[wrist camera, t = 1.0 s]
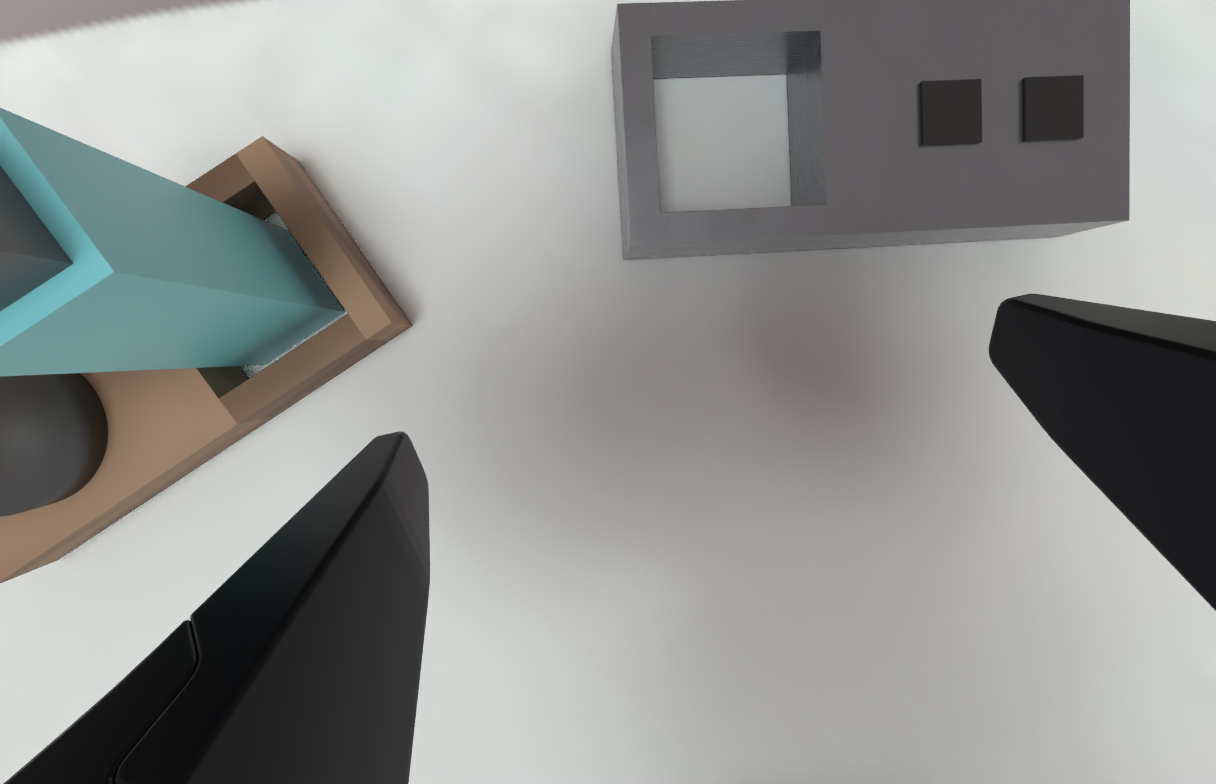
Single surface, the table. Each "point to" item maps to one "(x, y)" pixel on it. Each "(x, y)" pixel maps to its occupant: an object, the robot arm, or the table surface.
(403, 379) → the table surface
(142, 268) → the plug
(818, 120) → the port block
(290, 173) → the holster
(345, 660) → the robot arm
